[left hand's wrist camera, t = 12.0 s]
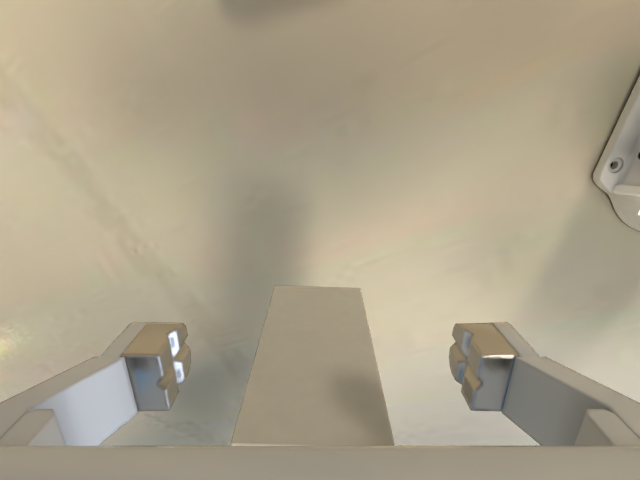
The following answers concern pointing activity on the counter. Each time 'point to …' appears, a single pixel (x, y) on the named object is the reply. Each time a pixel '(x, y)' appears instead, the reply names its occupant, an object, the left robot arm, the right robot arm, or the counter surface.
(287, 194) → the counter surface
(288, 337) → the box
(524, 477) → the left robot arm
